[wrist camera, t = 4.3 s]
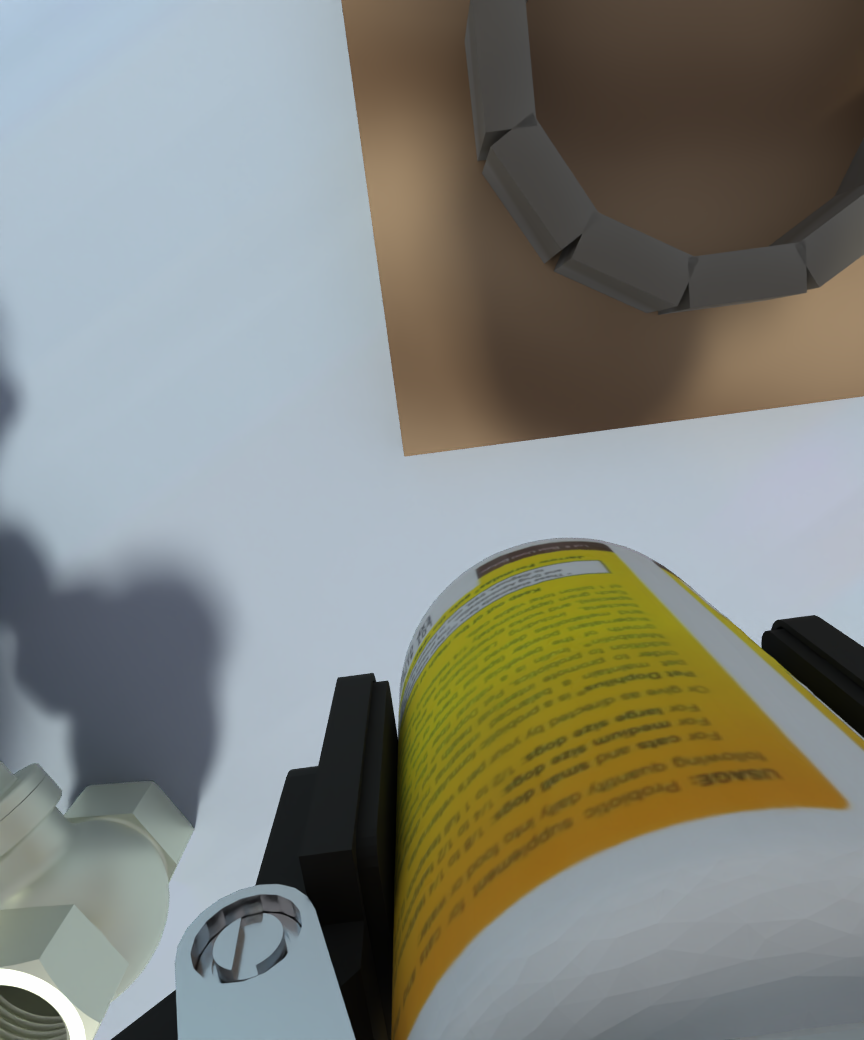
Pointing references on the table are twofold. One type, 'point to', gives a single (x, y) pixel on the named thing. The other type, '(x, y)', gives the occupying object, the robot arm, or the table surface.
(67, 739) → the table surface
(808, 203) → the collar plate
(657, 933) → the supplement bottle
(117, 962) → the valve
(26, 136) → the table surface
